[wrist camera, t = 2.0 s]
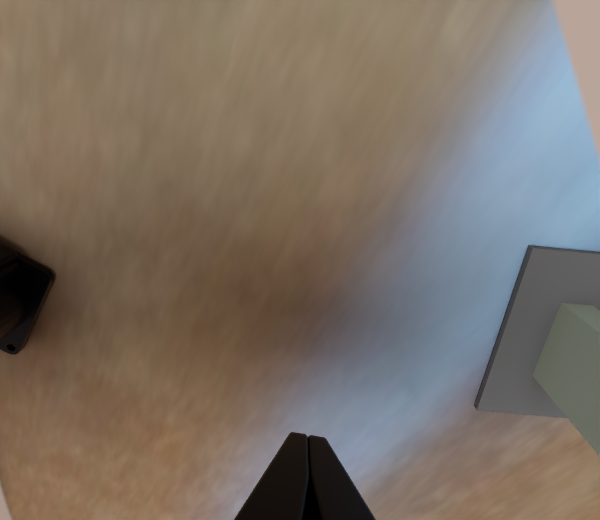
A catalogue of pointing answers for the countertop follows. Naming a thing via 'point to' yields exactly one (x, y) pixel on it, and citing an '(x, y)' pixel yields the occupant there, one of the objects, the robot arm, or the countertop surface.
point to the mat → (535, 327)
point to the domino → (574, 368)
